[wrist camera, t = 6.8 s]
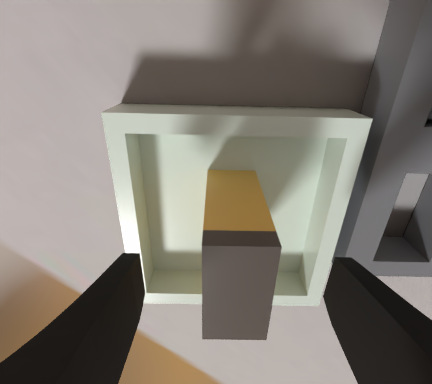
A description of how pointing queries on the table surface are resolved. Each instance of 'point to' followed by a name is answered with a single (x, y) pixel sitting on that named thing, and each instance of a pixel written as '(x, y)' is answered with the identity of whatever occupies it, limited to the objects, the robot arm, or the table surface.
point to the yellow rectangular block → (237, 257)
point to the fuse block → (395, 148)
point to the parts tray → (232, 160)
